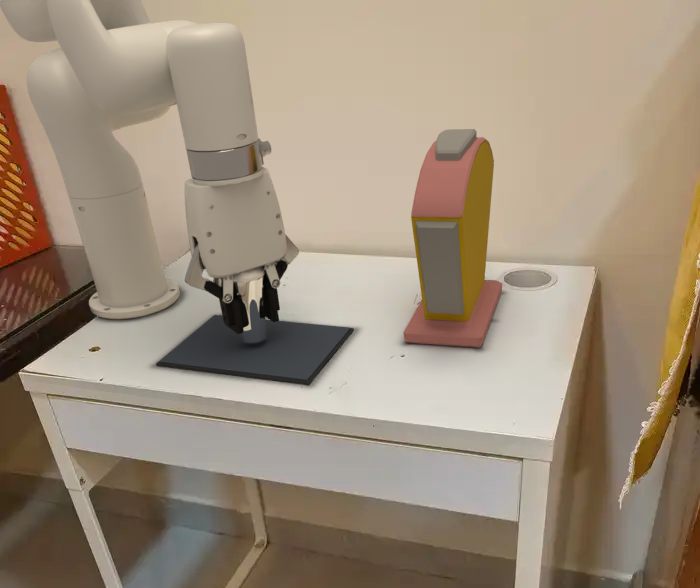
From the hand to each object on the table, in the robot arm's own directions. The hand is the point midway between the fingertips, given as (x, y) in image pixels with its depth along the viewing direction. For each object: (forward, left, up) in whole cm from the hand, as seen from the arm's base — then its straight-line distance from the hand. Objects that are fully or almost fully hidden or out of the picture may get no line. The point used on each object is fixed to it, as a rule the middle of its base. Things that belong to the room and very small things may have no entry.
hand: (253, 322), depth 86 cm
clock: (+9, +23, -3) cm, 25 cm away
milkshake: (0, 0, -2) cm, 2 cm away
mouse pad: (0, 0, -3) cm, 3 cm away
